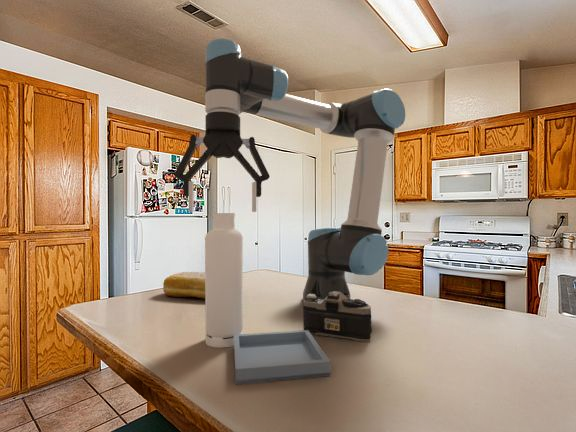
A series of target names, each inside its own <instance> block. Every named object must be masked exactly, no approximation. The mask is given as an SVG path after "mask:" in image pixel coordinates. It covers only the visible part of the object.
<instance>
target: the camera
mask: <svg viewBox="0 0 576 432" xmlns="http://www.w3.org/2000/svg"><path fill="white" fill-rule="evenodd" d="M302 301H303V300H302ZM302 309H303V311H302V316H303V317H302V318H303V323H302V324H303V330H309V332H310V333H311V335H315V336H324V337H331V338H337V339H346V340H347V339H348V340H354V341H358V342H361V343H367V342H370V341H371V340H372V333H373V332H372V331H373V329H372V327H373V326H372V308H371V305H370V304H368V303H367V302H366V301H365V300H362V299H359V298H355V299H351V298H350V299H348V298H347V297H346V296H345V295H344V294H343V293H341V292H337V291H333V292H330V293H329V295H328V296H327V297H326V298H325V299H324V300H322V299H317V297H316V295H315V294H308V295H307V297H306V298H305V300H304V301H303V308H302Z"/></svg>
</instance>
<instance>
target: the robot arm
mask: <svg viewBox="0 0 576 432" xmlns="http://www.w3.org/2000/svg"><path fill="white" fill-rule="evenodd" d="M204 58H205V60H204V61H205V62H204V69H205V70H204V71H205V73H204V74H205V75H204V76H205V93H204V94H205V98H204V99H205V100H204V103H205V105H204V106H205V109H204V110H205V113H206V115H205V134H204V137H201V136H197V135H195V134H191V135H190V138H189V145H188V146H187V149H186V151H185V152H184V154H183V157H182V158H181V160H180V161H179V164H178V166H177V168H176V169H175V171H174V177H175V178H177V179H179V180H181V181H182V183H183V189H182V191H183V193H182V194H183V196H184V197H188V212H189V213H190V212H191V213H194V210H195V209H194V207H195V206H194V197H195V196H194V190H195V189H194V186H195V185H194V181H193V180H192V179H193V177H194V176H195V175H196V174H197V173H198V172H199V171H200V170H201V169H202V167H204V165H205V164H206V163H207V162H208V161H209V160H210V159H211V157H215V158H216V159H222V158H224V159H231V158H233V157H234V158H235V159H236V160H237V161H238V162H239V164H240V165H241V166H242V167H243V168H244V170H245V171H246V172H247V173H248V174H249V175H250V177H251V178H252V179H253V180H254V181H252V183H251V212H252V213H256V212H257V198H260V197H261V196H262V183H263V182H265V181H267V180H268V179H270V174H269V172H268V170H267V168H266V166H265V164H264V161H263V160H262V157H261V155H260V154H259V151H258V149H257V147H256V141H255V137H254V136H251V137H249V138H242V136H241V116H239V115H241V114H242V113H245V114H250V115H255V116H261V117H264V118H269V119H273V120H278V121H282V122H288V123H292V124H297V125H301V126H306V127H311V128H315V129H319V130H320V132H322V133H323V134H327V135H328V134H329V135H332V136H336V137H337V136H338V137H342V138H351V139H353V138H354V139H355V140H356V142H357V148H356V155H355V161H354V170H353V175H352V183H351V190H350V199H349V205H348V212H347V218H346V220H345V221H343V223H341V224H340V226H339V227H335V226H334V227H324V228H315V229H311V230H310V231H309V233H308V238H307V260H308V261H307V262H308V263H307V265H308V266H307V268H308V273H307V274H308V275H307V279H306V282H305V285H304V289H303V291H302V301H304V300H305V298H306V297H307V295H308V294H315V295H316V297H317V299H322V300H324V299H325V298H326V297H327V296H328V295H329V293H330V292H333V291H337V292H341V293H343V294H344V295H345V296H346V297H347V298H348V299H351V291H350V289H349V286H348V283H347V282H348V281H347V279H346V276H345V274H346V273H350V274H354V275H358V276H372V275H375V274H377V273H378V272H379V271H380V270H382V269H383V267H384V266H385V264H386V262H387V260H388V257H389V244H387V243H388V241H387V239H386V238H385V237H384V236H383V235H382V231H383V229H382V228H381V226H380V225H379V224H378V219H379V213H380V205H381V204H380V203H381V198H382V197H381V196H382V190H383V182H384V174H385V167H386V158H387V151H388V145H389V144H390V143H391V142H393V141H394V138H395V131H396V129H399V128H401V126H402V125H403V124H404V123H405V121H406V108H405V104H404V102H403V100H402V98H401V97H400V95H399V94H398V93H397V92H396V91H395V90H393V89H390V88H384V89H380V90H374V91H373V92H372V93H370V94H367V95H364V96H361V97H359V98H356V99H354V100H351V101H347V102H344V103H335V102H327V103H322V102H318V101H315V100H310V99H307V98H302V97H299V96H295V95H291V94H288V93H287V91H288V88H289V76H288V74H287V72H286V71H285V70H284V69H283V68H279V67H277V66H275V65H274V64H272V65H271V64H268V63H264V62H260V61H258V60H257V61H256V60H254V59H253V60H252V59H249V58H247V57H243V56H242V52H241V47H240V45H239V44H238V43H236V42H235V41H234V40H231V39H229V38H215V39H213V40H211V41H210V42H208V43H207V45H206V48H205V57H204ZM201 144H204V146H205V147H206V150H205V151H204V152H203V153H202V155H201V156H200V157H199V158H198V159H197V161H196V162H195V163H193V165H192V166H191V167H190V168H189V170H188V171H187V172H186V173H184V172H185V171H186V169H187V167H188V165H189V163H190V161H191V159H192V158H193V156H194V154H195V152H196V149H197V148H198V147H200V146H201ZM243 145H244V147H245V148H246V149H249V153H250V155H251V156H252V158H253V160H254V162H255V164H256V166H257V168H258V170H259V172H260V174H258V172H257V171H256V170H255V168H254V167H253V166H252V165H251V164H250V163H249V161H248V160H247V159H246V158H245V156H244V155H243V154H242V152H241V151H240V149H241V147H242V146H243Z"/></svg>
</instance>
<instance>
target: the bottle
mask: <svg viewBox="0 0 576 432" xmlns="http://www.w3.org/2000/svg"><path fill="white" fill-rule="evenodd" d="M235 216H236V214H235V212H217V213H216V212H212V220H213V222H212V229H210V230H209V231H208V232H207V233H206V234H205V236H204V250H205V251H204V259H205V260H204V268H205V269H204V271H205V303H204V304H205V308H204V309H205V315H204V317H205V344H206V345H207V346H208V347H211V348H230V347H234V335H238V334H244V332H243V328H244V325H243V324H244V319H243V318H244V317H243V316H244V311H243V310H244V307H243V305H244V303H243V301H244V300H243V298H244V297H243V294H244V292H243V289H244V284H243V283H244V282H243V278H244V277H243V271H244V270H243V269H244V267H243V264H244V263H243V262H244V261H243V255H244V254H243V251H244V250H243V245H244V243H243V239H244V238H243V235H242V233H241V232H240V231H239V230H237V229H236V228H235V227H236V226H235Z"/></svg>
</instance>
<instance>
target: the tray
mask: <svg viewBox="0 0 576 432" xmlns="http://www.w3.org/2000/svg"><path fill="white" fill-rule="evenodd" d="M233 338H234V346H233V355H234V358H233V359H234V377H235V378H234V379H235V380H234V381H235V385H247V384H256V383H266V382H267V383H268V382H277V381H289V380H300V379H301V380H302V379H311V378H313V379H314V378H321V377H330V376H331V361H330V359H329V358H328V356H327V355H326V353H325V351H324V350H323V349H322V348H321V345H319V343H318V342H317V340H316V338H314V336H313V334H311V333H310V332H309V330H304V329H303V330H302V329H301V330H288V331H287V330H284V331H272V332H271V331H269V332H268V331H267V332H257V333H256V332H255V333H253V332H252V333H243V334H238V335H234V336H233Z"/></svg>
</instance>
